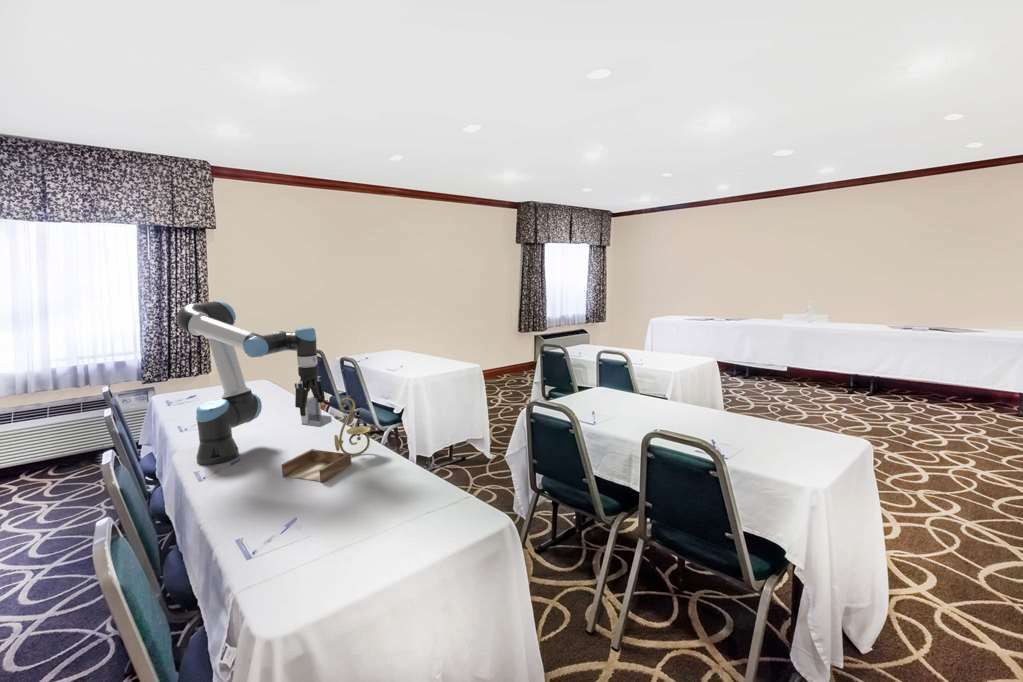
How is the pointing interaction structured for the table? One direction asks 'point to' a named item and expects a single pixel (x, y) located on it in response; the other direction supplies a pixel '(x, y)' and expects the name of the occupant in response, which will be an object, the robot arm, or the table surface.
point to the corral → (316, 465)
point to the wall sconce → (351, 432)
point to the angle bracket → (315, 414)
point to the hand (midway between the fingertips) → (311, 420)
